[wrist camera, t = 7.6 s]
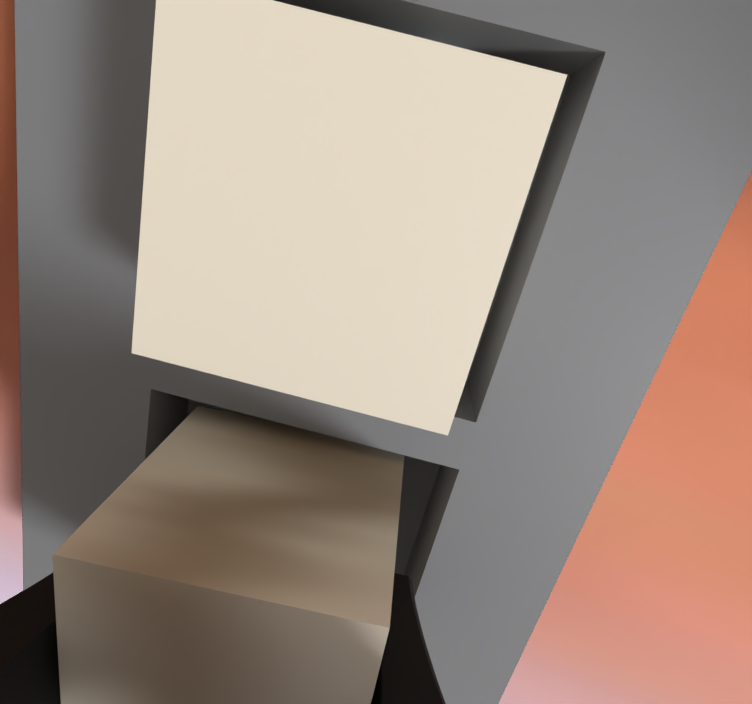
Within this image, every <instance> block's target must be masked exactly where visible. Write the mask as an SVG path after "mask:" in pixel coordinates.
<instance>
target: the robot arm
mask: <svg viewBox="0 0 752 704" xmlns="http://www.w3.org/2000/svg"><path fill="white" fill-rule="evenodd" d="M0 704H61V699H60V682H59V664H58V646H57V629H56V611H55V594H54V576H53V573H51V574H50V575H48V576H46V577H45V578H43V579H42V580H40V581H38V582H37V583H35V584H34V585H32V586H30V587H29V588H27V589H25V590H24V591H22V592H20V593H19V594H17V595H15V596H13V597H12V598H10V599H8V600H7V601H5V602H3V603H2V604H0ZM371 704H446V703H445V700H444V697H443V695H442V692H441V689H440V686H439V683H438V681H437V678H436V675H435V672H434V668H433V665H432V662H431V659H430V656H429V652H428V649H427V646H426V643H425V639H424V636H423V632H422V628H421V624H420V620H419V616H418V612H417V607H416V602H415V597H414V592H413V585H412V580H411V579H410V577H409V576H406V575H402V574H397V573H394V583H393V595H392V607H391V619H390V629H389V633H388V637H387V641H386V645H385V649H384V653H383V657H382V661H381V665H380V669H379V673H378V677H377V681H376V685H375V689H374V693H373V697H372V701H371Z"/></svg>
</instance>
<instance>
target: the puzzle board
mask: <svg viewBox="0 0 752 704" xmlns="http://www.w3.org/2000/svg"><path fill="white" fill-rule="evenodd" d="M15 66H16V132H17V198H18V265H19V331H20V397H21V463H22V529H23V591H24V590H25V589H27V588H29V587H30V586H32V585H34V584H35V583H37V582H38V581H40V580H42V579H43V578H45V577H46V576H48V575H50V574H51V573H53V558H52V554H53V553H54V552H55V551H56V550H57V549H58V548H59V547H60V546H61V545H62V544H63V543H64V542H65V541H66V540H67V539H68V538H69V537H70V536H71V535H72V534H73V533H74V532H75V531H76V530H77V529H78V528H79V527H80V526H81V525H82V524H83V523H84V522H85V521H86V520H87V518H88V517H89V516H90V515H91V514H92V513H93V512H94V511H95V510H96V509H97V508H98V507H99V506H100V505H101V504H102V503H103V502H104V501H105V500H106V499H107V498H108V497H109V496H110V495H111V494H112V493H113V492H114V491H115V490H116V489H117V488H118V487H119V486H120V485H121V484H122V483H123V482H124V481H125V480H126V479H127V478H128V477H129V476H130V475H131V474H132V473H133V472H134V471H135V470H136V469H137V468H138V467H139V465H140V464H141V463H142V462H143V461H144V460H145V459H146V458H147V457H148V456H149V455H150V454H151V453H152V452H153V451H154V450H155V449H156V448H157V447H158V446H159V445H160V444H161V443H162V442H163V441H164V440H165V439H166V438H167V437H168V436H169V435H170V434H171V433H172V432H173V431H174V430H175V429H176V428H177V427H178V426H179V425H180V424H181V423H182V422H183V421H184V420H185V419H186V418H187V417H188V416H189V415H190V414H191V412H192V411H193V410H194V409H195V408H196V407H197V406H201V407H206V408H211V409H216V410H221V411H226V412H230V413H235V414H240V415H245V416H250V417H255V418H260V419H264V420H269V421H274V422H279V423H283V424H287V425H290V426H294V427H298V428H302V429H306V430H309V431H313V432H317V433H321V434H325V435H329V436H332V437H336V438H340V439H344V440H348V441H352V442H355V443H359V444H363V445H367V446H371V447H374V448H378V449H382V450H386V451H390V452H394V453H397V454H401V455H404V465H403V477H402V489H401V501H400V512H399V524H398V536H397V548H396V560H395V572H394V573H397V574H402V575H406V576H409V577H410V579H411V580H412V585H413V592H414V597H415V602H416V607H417V612H418V616H419V620H420V624H421V628H422V632H423V636H424V639H425V643H426V646H427V649H428V652H429V656H430V659H431V662H432V665H433V668H434V672H435V675H436V678H437V681H438V683H439V686H440V689H441V692H442V695H443V697H444V700H445V703H446V704H498V703H499V701H500V699H501V697H502V695H503V693H504V690H505V688H506V686H507V684H508V682H509V680H510V678H511V676H512V674H513V672H514V669H515V667H516V665H517V663H518V661H519V659H520V657H521V655H522V653H523V651H524V648H525V646H526V644H527V642H528V640H529V638H530V636H531V634H532V632H533V630H534V627H535V625H536V623H537V621H538V619H539V617H540V615H541V613H542V611H543V609H544V606H545V604H546V602H547V600H548V598H549V596H550V594H551V592H552V590H553V587H554V585H555V583H556V581H557V579H558V577H559V575H560V573H561V571H562V569H563V566H564V564H565V562H566V560H567V558H568V556H569V554H570V552H571V550H572V548H573V545H574V543H575V541H576V539H577V537H578V535H579V533H580V531H581V529H582V527H583V524H584V522H585V520H586V518H587V516H588V514H589V512H590V510H591V508H592V506H593V503H594V501H595V499H596V497H597V495H598V493H599V491H600V489H601V487H602V485H603V482H604V480H605V478H606V476H607V474H608V472H609V470H610V468H611V466H612V463H613V461H614V459H615V457H616V455H617V453H618V451H619V449H620V447H621V445H622V442H623V440H624V438H625V436H626V434H627V432H628V430H629V428H630V426H631V424H632V421H633V419H634V417H635V415H636V413H637V411H638V409H639V407H640V405H641V403H642V400H643V398H644V396H645V394H646V392H647V390H648V388H649V386H650V384H651V382H652V379H653V377H654V375H655V373H656V371H657V369H658V367H659V365H660V363H661V361H662V358H663V356H664V354H665V352H666V350H667V348H668V346H669V344H670V342H671V339H672V337H673V335H674V333H675V331H676V329H677V327H678V325H679V323H680V321H681V318H682V316H683V314H684V312H685V310H686V308H687V306H688V304H689V302H690V300H691V297H692V295H693V293H694V291H695V289H696V287H697V285H698V283H699V281H700V279H701V276H702V274H703V272H704V270H705V268H706V266H707V264H708V262H709V260H710V258H711V255H712V253H713V251H714V249H715V247H716V245H717V243H718V241H719V239H720V237H721V234H722V232H723V230H724V228H725V226H726V224H727V222H728V220H729V218H730V215H731V213H732V211H733V209H734V207H735V205H736V203H737V201H738V199H739V197H740V194H741V192H742V190H743V188H744V186H745V184H746V182H747V180H748V178H749V176H750V173H751V171H752V0H15Z"/></svg>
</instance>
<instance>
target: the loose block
mask: <svg viewBox="0 0 752 704" xmlns="http://www.w3.org/2000/svg"><path fill="white" fill-rule="evenodd" d="M403 465H404V455H401V454H397V453H394V452H390V451H386V450H382V449H378V448H374V447H371V446H367V445H363V444H359V443H355V442H352V441H348V440H344V439H340V438H336V437H332V436H329V435H325V434H321V433H317V432H313V431H309V430H306V429H302V428H298V427H294V426H290V425H287V424H283V423H279V422H274V421H269V420H264V419H260V418H255V417H250V416H245V415H240V414H235V413H230V412H226V411H221V410H216V409H211V408H206V407H201V406H197V407H196V408H195V409H194V410H193V411H192V412H191V414H190V415H189V416H188V417H187V418H186V419H185V420H184V421H183V422H182V423H181V424H180V425H179V426H178V427H177V428H176V429H175V430H174V431H173V432H172V433H171V434H170V435H169V436H168V437H167V438H166V439H165V440H164V441H163V442H162V443H161V444H160V445H159V446H158V447H157V448H156V449H155V450H154V451H153V452H152V453H151V454H150V455H149V456H148V457H147V458H146V459H145V460H144V461H143V462H142V463H141V464H140V465H139V467H138V468H137V469H136V470H135V471H134V472H133V473H132V474H131V475H130V476H129V477H128V478H127V479H126V480H125V481H124V482H123V483H122V484H121V485H120V486H119V487H118V488H117V489H116V490H115V491H114V492H113V493H112V494H111V495H110V496H109V497H108V498H107V499H106V500H105V501H104V502H103V503H102V504H101V505H100V506H99V507H98V508H97V509H96V510H95V511H94V512H93V513H92V514H91V515H90V516H89V517H88V518H87V520H86V521H85V522H84V523H83V524H82V525H81V526H80V527H79V528H78V529H77V530H76V531H75V532H74V533H73V534H72V535H71V536H70V537H69V538H68V539H67V540H66V541H65V542H64V543H63V544H62V545H61V546H60V547H59V548H58V549H57V550H56V551H55V552H54V553H53V554H52V558H53V576H54V594H55V611H56V629H57V646H58V664H59V682H60V699H61V704H371V701H372V697H373V693H374V689H375V685H376V681H377V677H378V673H379V669H380V665H381V661H382V657H383V653H384V649H385V645H386V641H387V637H388V633H389V629H390V619H391V607H392V595H393V583H394V572H395V560H396V548H397V536H398V524H399V512H400V501H401V489H402V477H403Z"/></svg>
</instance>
